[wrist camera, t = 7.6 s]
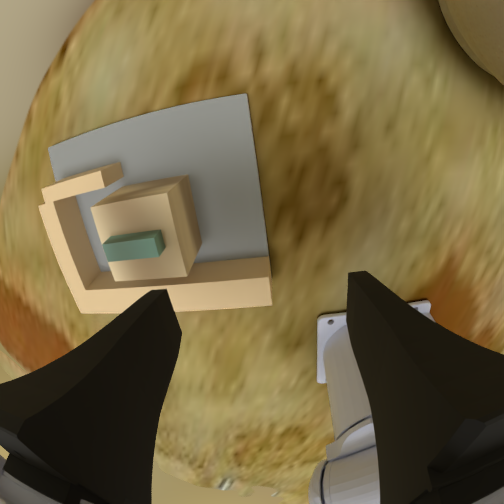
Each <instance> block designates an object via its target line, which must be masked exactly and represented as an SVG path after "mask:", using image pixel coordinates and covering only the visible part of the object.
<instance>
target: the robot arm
mask: <svg viewBox="0 0 504 504" xmlns="http://www.w3.org/2000/svg"><path fill="white" fill-rule="evenodd" d="M415 307H416V308H415ZM430 308H431V304H430V302H429V301H428V300H424V301H418V302H412V303H406V302H405V301H404V300H402V299H401V298H400V297H398V296H397V295H396V294H395V293H393V292H392V291H391V290H390V289H388V288H387V287H386V286H385V285H383V284H382V283H381V282H380V281H378V280H377V279H376V278H375V277H373V276H372V275H371V274H370V273H368V272H367V271H359V272H350V273H348V293H347V312H344V313H336V314H327V315H321V316H320V317H319V318H318V319H317V382H318V383H327V388H328V395H329V402H330V409H331V416H332V423H333V431H334V438H335V442H333V443H331V444H328V445H326V453H327V459H324V460H322V461H320V462H319V463H318V464H317V466H316V467H315V470H314V472H313V475H312V477H311V480H310V484H309V504H504V355H503V354H500V353H497V352H495V351H492V350H489V349H487V348H484V347H482V346H480V345H477V344H475V343H473V342H471V341H469V340H467V339H465V338H462V337H461V336H459V335H457V334H455V333H453V332H451V331H449V330H448V329H446V328H444V327H442V326H441V325H439V324H437V323H436V322H435V321H434V319H433V317H432V316H431V314H430V313H429V312H430ZM329 320H332V321H329ZM181 336H182V331H181V329H180V326H179V323H178V320H177V318H176V315H175V312H174V309H173V306H172V303H171V300H170V297H169V294H168V291H167V289H157V290H151V291H149V292H147V293H146V294H145V295H143V296H142V297H141V298H139V299H138V300H137V301H136V302H134V303H133V304H132V305H131V306H130V307H128V308H127V309H126V310H125V311H123V312H122V313H121V314H120V315H119V316H117V317H116V318H115V319H114V320H113V321H111V322H110V323H109V324H108V325H106V326H105V327H104V328H102V329H101V330H100V331H99V332H97V333H96V334H95V335H93V336H92V337H91V338H89V339H88V340H87V341H85V342H84V343H82V344H81V345H80V346H78V347H76V348H75V349H73V350H72V351H70V352H69V353H67V354H66V355H64V356H62V357H60V358H58V359H57V360H55V361H53V362H51V363H49V364H47V365H46V366H44V367H42V368H40V369H38V370H36V371H33V372H31V373H29V374H27V375H24V376H22V377H19V378H17V379H14V380H12V381H8V382H5V383H2V384H0V445H1V446H2V447H3V448H4V449H5V450H6V451H8V452H9V453H10V454H9V456H8V458H7V460H6V459H4V458H3V457H2V456H1V455H0V504H151V484H152V468H153V457H154V448H155V440H156V434H157V428H158V422H159V417H160V413H161V409H162V405H163V402H164V399H165V396H166V393H167V389H168V386H169V383H170V380H171V377H172V374H173V371H174V368H175V365H176V361H177V358H178V354H179V348H180V342H181Z"/></svg>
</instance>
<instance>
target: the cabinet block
mask: <svg viewBox="0 0 504 504" xmlns="http://www.w3.org/2000/svg"><path fill="white" fill-rule="evenodd" d="M90 208H91V212H92V215H93V218H94V222H95V225H96V228H97V231H98V234H99V238H100V241H101V244H102V247H103V250H104V252H105V255H106V258H107V261H108V264H109V267H110V269H111V272H112V275H113V277H114V280H115V281H131V280H145V279H160V278H173V277H187V276H188V274H189V272H190V269H191V267H192V265H193V263H194V260H195V258H196V256H197V254H198V252H199V249H200V247H201V245H202V240H201V235H200V230H199V226H198V221H197V216H196V211H195V206H194V201H193V196H192V191H191V186H190V181H189V176H188V174H186V175H180V176H175V177H169V178H163V179H158V180H153V181H147V182H142V183H137V184H132V185H128V186H123V187H121V188H119V189H118V190H116V191H115V192H113V193H111V194H110V195H108V196H107V197H105V198H104V199H102V200H101V201H99V202H98V203H96V204H95V205H93V206H92V207H90Z"/></svg>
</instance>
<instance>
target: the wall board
mask: <svg viewBox="0 0 504 504" xmlns="http://www.w3.org/2000/svg"><path fill="white" fill-rule="evenodd" d="M48 151H49V155H50V160H51V164H52V168H53V172H54V176H55V180H56V182H55V183H53V184H51V185H48V186H46V187H44V188H42V189H41V190H42V194H43V197H44V201H45V202H44V203H42V204H41V205H39V210H40V213H41V216H42V219H43V222H44V225H45V228H46V231H47V234H48V237H49V239H50V242H51V245H52V248H53V250H54V253H55V255H56V258H57V260H58V263H59V265H60V268H61V270H62V273H63V275H64V277H65V280H66V282H67V284H68V286H69V289H70V291H71V293H72V295H73V297H74V299H75V302H76V304H77V306H78V308H79V310H80V312H81V313H122V312H123V311H125V310H126V309H127V308H128V307H130V306H131V305H132V304H133V303H134V302H136V301H137V300H138V299H139V298H141V297H142V296H143V295H145V294H146V293H147V292H149V291H151V290H157V289H167V291H168V294H169V297H170V300H171V303H172V306H173V309H174V312H178V311H199V310H217V309H232V308H246V307H259V306H271V305H272V274H271V266H270V258H269V250H268V242H267V234H266V226H265V219H264V211H263V203H262V196H261V188H260V181H259V173H258V166H257V159H256V152H255V145H254V138H253V131H252V124H251V117H250V110H249V103H248V96H247V93H246V94H239V95H232V96H226V97H220V98H214V99H209V100H204V101H199V102H194V103H189V104H184V105H180V106H175V107H171V108H167V109H163V110H159V111H155V112H151V113H147V114H144V115H140V116H137V117H133V118H130V119H126V120H123V121H120V122H117V123H113V124H110V125H107V126H104V127H101V128H98V129H96V130H93V131H90V132H87V133H84V134H82V135H79V136H76V137H74V138H71V139H69V140H66V141H63V142H61V143H59V144H56V145H54V146H51V147H49V148H48ZM186 174H188V176H189V181H190V186H191V191H192V196H193V201H194V206H195V211H196V216H197V221H198V226H199V230H200V235H201V240H202V245H201V247H200V249H199V252H198V254H197V256H196V258H195V260H194V263H193V265H192V267H191V269H190V272H189V274H188V276H187V277H173V278H160V279H145V280H131V281H115V280H114V277H113V275H112V272H111V269H110V267H109V264H108V261H107V258H106V255H105V252H104V250H103V247H102V244H101V241H100V238H99V234H98V231H97V228H96V225H95V222H94V218H93V215H92V212H91V208H90V207H92V206H93V205H95V204H96V203H98V202H99V201H101V200H102V199H104V198H105V197H107V196H108V195H110V194H111V193H113V192H115V191H116V190H118V189H119V188H121V187H123V186H128V185H132V184H137V183H142V182H147V181H153V180H158V179H163V178H169V177H175V176H180V175H186Z"/></svg>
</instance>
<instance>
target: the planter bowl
mask: <svg viewBox="0 0 504 504" xmlns="http://www.w3.org/2000/svg"><path fill="white" fill-rule="evenodd" d="M438 1H439V5H440V8H441V11H442V13H443V16H444V18H445V20H446V23H447V25H448V27H449V29H450V30H451V32H452V34H453V35H454V37H455V39H456V40H457V42H458V43H459V44H460V46H461V47H462V49H463V50H464V51H465V52H466V53H467V55H468V56H469V57H470V58H471V59H472V60H473V61H474V62H475V63H476V64H477V65H478V66H480V67H481V68H482V69H483V70H485V71H486V72H488V73H489V74H491V75H493V76H495V77H496V79H497V80H498V81H499V82H500V83H501V84H502V85H503V86H504V0H438Z"/></svg>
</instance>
